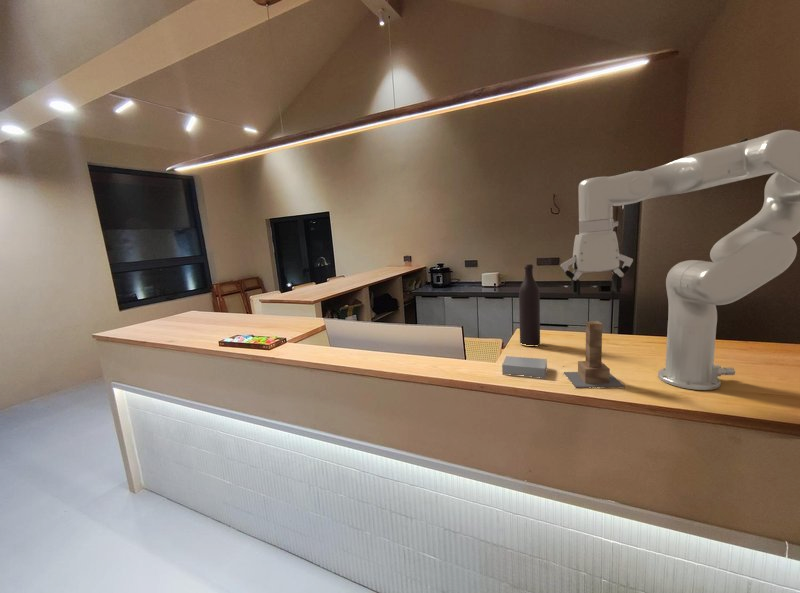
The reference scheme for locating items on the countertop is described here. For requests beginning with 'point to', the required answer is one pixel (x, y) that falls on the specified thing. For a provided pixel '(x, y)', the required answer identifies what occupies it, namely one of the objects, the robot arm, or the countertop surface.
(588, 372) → the tamper
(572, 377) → the mat
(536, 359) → the tile
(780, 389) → the countertop surface
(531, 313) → the wine bottle
